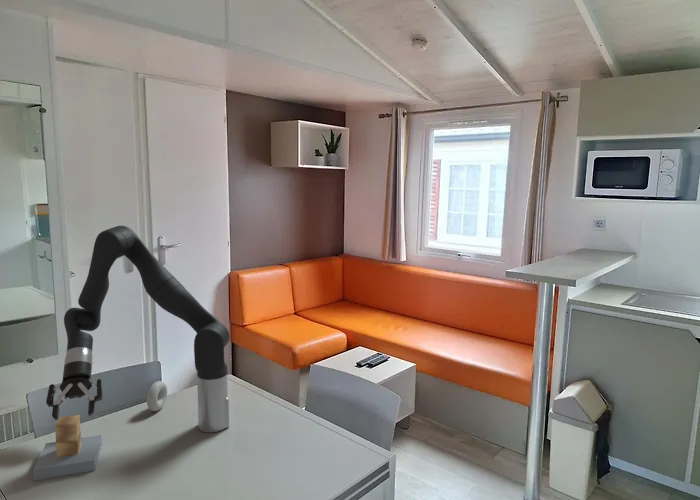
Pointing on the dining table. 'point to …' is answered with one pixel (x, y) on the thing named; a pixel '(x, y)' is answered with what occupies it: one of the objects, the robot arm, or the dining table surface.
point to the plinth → (68, 460)
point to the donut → (157, 396)
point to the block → (68, 436)
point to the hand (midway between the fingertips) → (73, 417)
